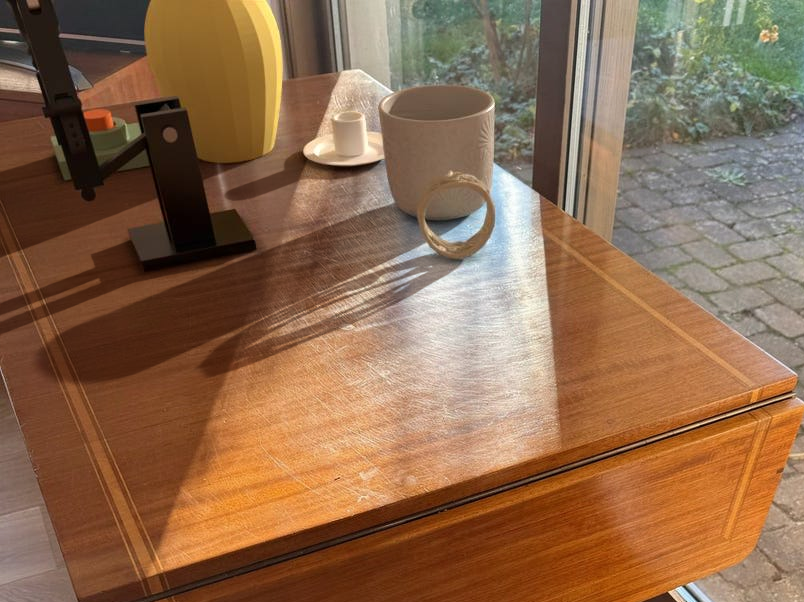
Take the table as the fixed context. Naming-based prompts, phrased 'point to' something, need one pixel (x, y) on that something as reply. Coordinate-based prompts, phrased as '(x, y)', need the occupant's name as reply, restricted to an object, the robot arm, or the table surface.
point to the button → (98, 120)
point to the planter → (437, 145)
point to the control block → (107, 146)
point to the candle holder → (346, 143)
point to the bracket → (181, 196)
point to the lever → (120, 160)
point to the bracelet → (459, 248)
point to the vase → (219, 72)
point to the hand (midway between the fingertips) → (80, 163)
